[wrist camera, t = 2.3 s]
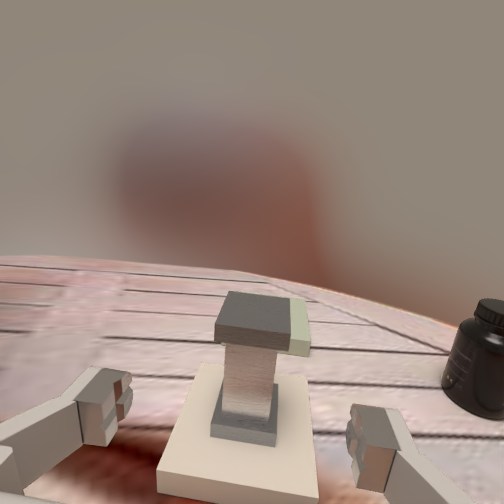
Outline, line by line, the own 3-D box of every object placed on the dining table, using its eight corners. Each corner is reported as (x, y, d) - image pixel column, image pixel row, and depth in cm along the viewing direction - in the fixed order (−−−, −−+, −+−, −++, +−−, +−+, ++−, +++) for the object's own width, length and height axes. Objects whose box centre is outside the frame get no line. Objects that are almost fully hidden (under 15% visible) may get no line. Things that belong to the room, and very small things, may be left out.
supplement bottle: (486, 381, 37) (520, 298, 33) (525, 427, 31) (573, 331, 27) (429, 372, 38) (457, 290, 34) (456, 415, 32) (493, 320, 28)
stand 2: (157, 492, 22) (156, 469, 21) (200, 379, 34) (201, 362, 33) (313, 521, 21) (318, 498, 20) (303, 395, 33) (307, 377, 32)
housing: (210, 436, 24) (214, 323, 21) (223, 387, 29) (228, 290, 26) (275, 447, 24) (290, 333, 20) (276, 395, 29) (289, 298, 26)
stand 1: (221, 345, 40) (222, 329, 39) (235, 304, 51) (236, 291, 51) (308, 357, 39) (310, 341, 38) (303, 312, 50) (305, 299, 50)
